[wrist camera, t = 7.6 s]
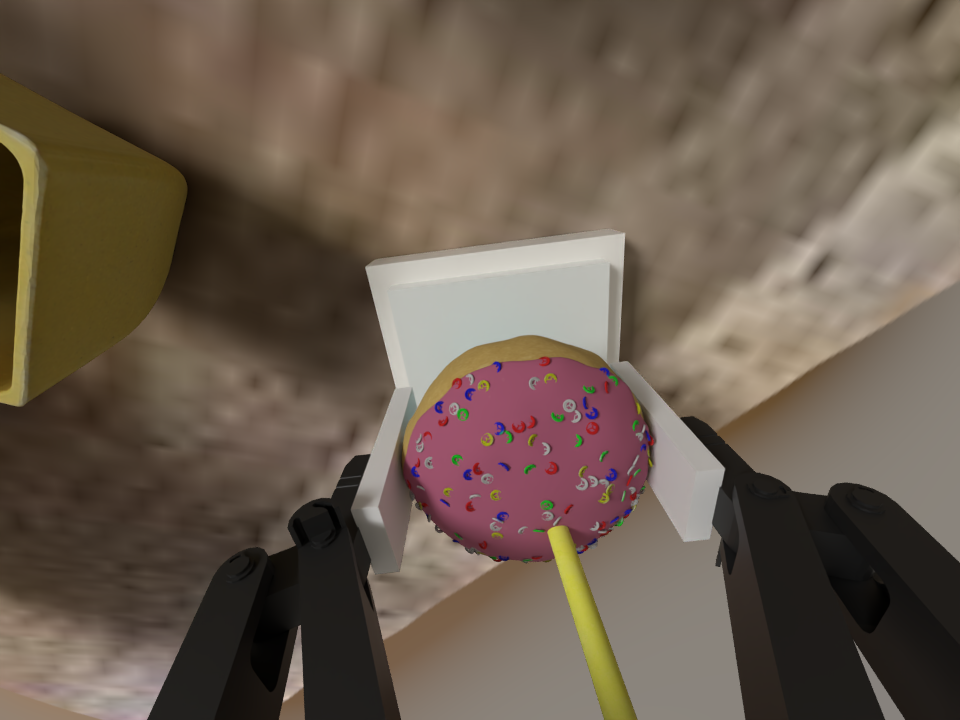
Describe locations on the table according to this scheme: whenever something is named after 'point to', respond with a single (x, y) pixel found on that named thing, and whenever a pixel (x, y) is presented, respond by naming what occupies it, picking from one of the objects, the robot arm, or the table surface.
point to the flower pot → (74, 240)
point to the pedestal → (498, 299)
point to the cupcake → (533, 468)
